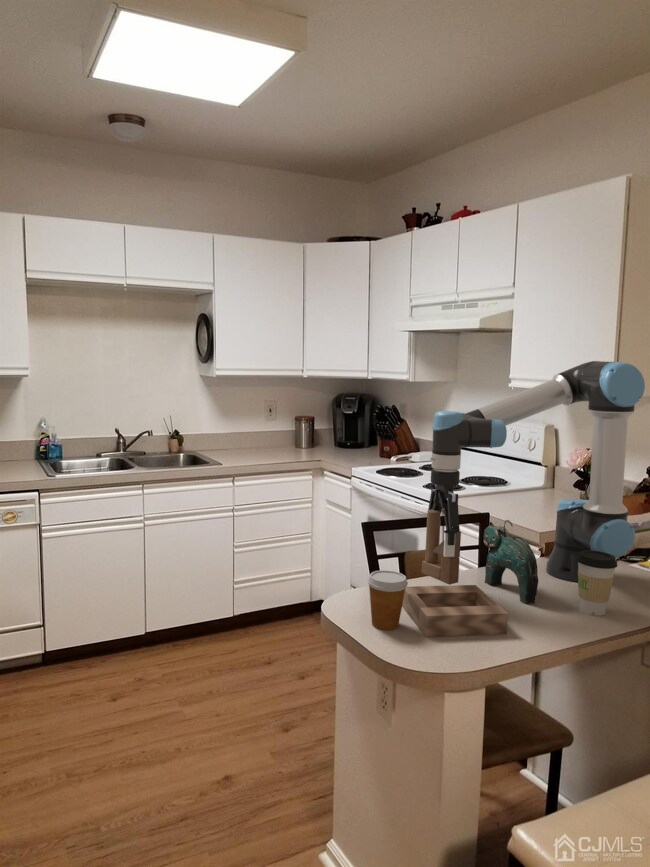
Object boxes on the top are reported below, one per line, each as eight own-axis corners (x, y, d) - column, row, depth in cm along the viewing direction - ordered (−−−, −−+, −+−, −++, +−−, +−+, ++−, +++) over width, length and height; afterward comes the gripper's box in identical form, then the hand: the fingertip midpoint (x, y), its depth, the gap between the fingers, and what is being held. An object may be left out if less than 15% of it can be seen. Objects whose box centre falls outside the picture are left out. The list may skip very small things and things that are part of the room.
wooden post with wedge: (449, 585, 174) (452, 518, 172) (421, 573, 183) (423, 510, 181) (459, 582, 176) (462, 517, 174) (430, 571, 185) (433, 508, 183)
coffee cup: (582, 601, 179) (587, 547, 177) (618, 612, 172) (624, 556, 170) (565, 609, 172) (570, 554, 170) (603, 621, 165) (608, 563, 163)
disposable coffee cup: (358, 619, 160) (360, 571, 159) (392, 614, 164) (395, 568, 162) (376, 635, 151) (379, 585, 150) (412, 630, 155) (415, 581, 154)
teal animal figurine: (478, 581, 192) (482, 513, 189) (496, 579, 194) (501, 512, 192) (523, 606, 173) (529, 532, 171) (542, 603, 176) (549, 530, 174)
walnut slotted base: (474, 603, 174) (475, 584, 173) (506, 633, 155) (508, 613, 155) (401, 605, 170) (402, 586, 170) (425, 636, 152) (426, 616, 151)
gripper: (418, 462, 186) (414, 538, 189) (447, 477, 164) (443, 564, 167) (443, 461, 188) (439, 537, 190) (476, 477, 165) (471, 563, 168)
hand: (441, 550), depth 178 cm, fingers closed on wooden post with wedge, 10 cm apart
